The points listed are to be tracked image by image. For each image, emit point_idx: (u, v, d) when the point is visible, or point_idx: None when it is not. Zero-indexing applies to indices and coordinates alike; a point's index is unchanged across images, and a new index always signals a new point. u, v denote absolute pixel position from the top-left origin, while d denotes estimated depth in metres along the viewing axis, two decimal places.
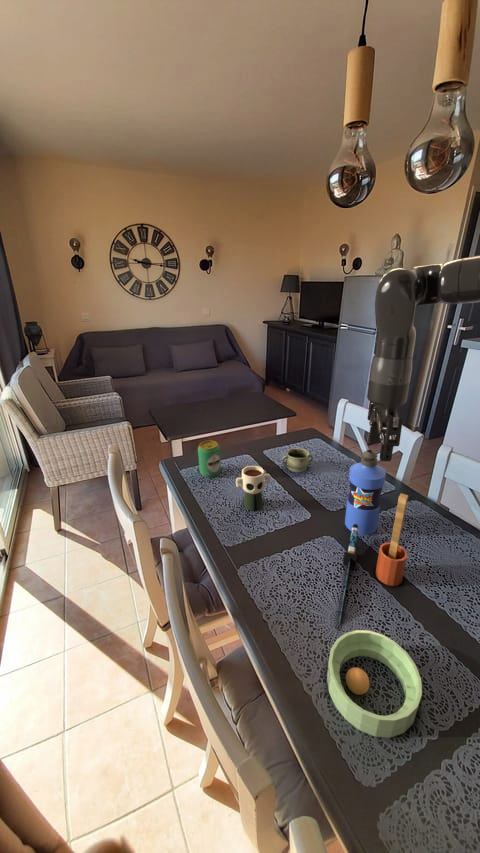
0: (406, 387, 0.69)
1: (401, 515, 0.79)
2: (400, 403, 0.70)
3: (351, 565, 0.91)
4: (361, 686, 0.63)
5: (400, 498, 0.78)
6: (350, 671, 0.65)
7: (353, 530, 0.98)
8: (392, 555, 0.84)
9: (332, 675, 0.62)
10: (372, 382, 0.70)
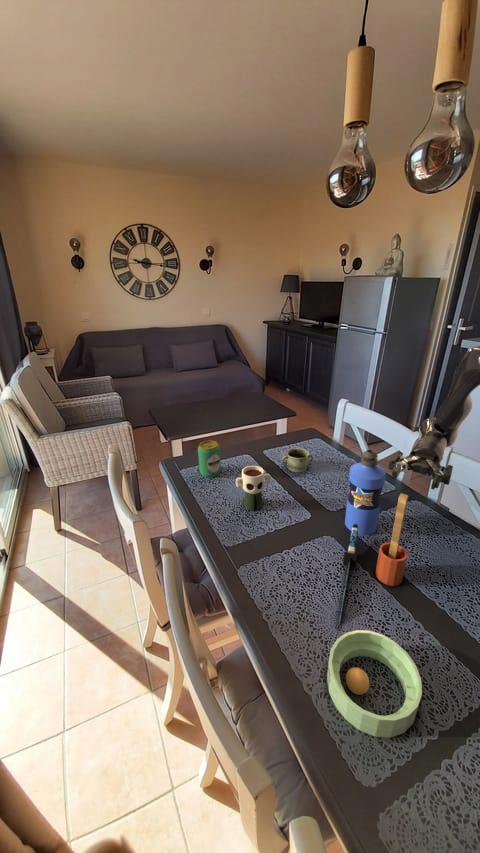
0: (416, 444, 0.99)
1: (401, 515, 0.79)
2: (411, 451, 0.97)
3: (351, 565, 0.91)
4: (361, 686, 0.63)
5: (400, 498, 0.78)
6: (350, 671, 0.65)
7: (353, 530, 0.98)
8: (392, 555, 0.84)
9: (332, 675, 0.62)
10: None
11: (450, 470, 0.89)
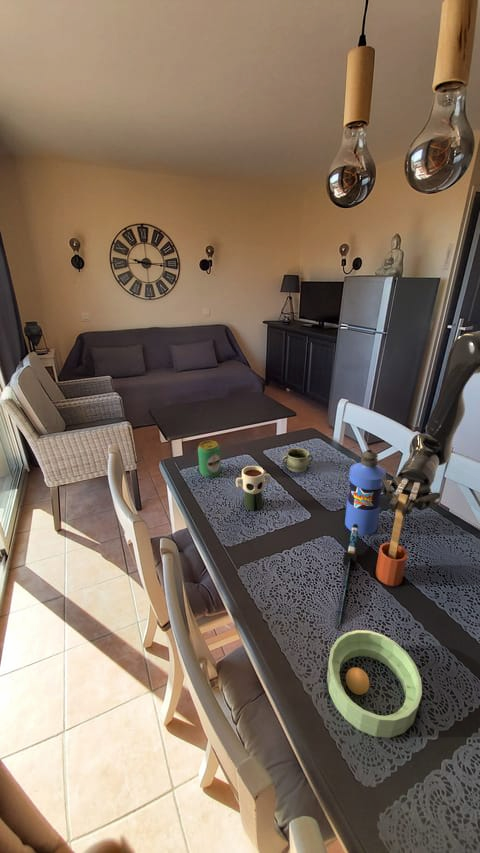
0: (405, 464, 0.89)
1: (401, 515, 0.79)
2: (399, 472, 0.88)
3: (351, 565, 0.91)
4: (361, 686, 0.63)
5: (400, 498, 0.78)
6: (350, 671, 0.65)
7: (353, 530, 0.98)
8: (392, 555, 0.84)
9: (332, 675, 0.62)
10: None
11: (431, 497, 0.79)
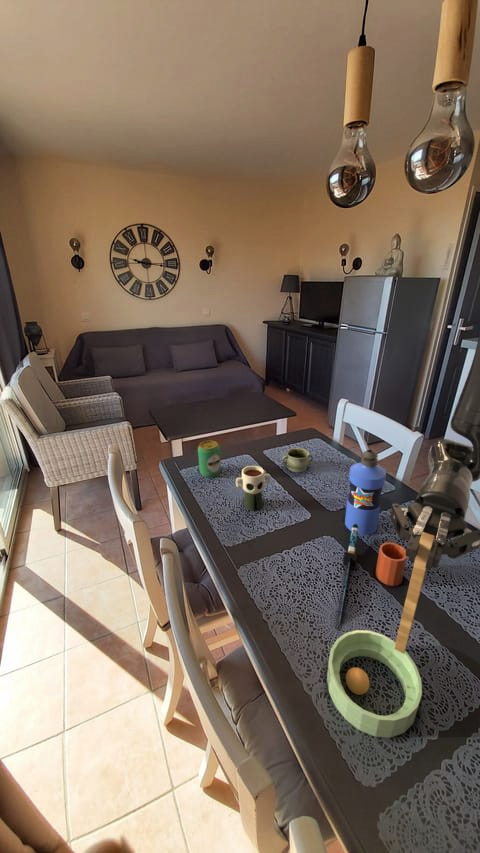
0: (426, 484, 0.62)
1: (423, 565, 0.52)
2: (418, 496, 0.61)
3: (351, 565, 0.91)
4: (361, 686, 0.63)
5: (422, 540, 0.51)
6: (350, 671, 0.65)
7: (353, 530, 0.98)
8: (407, 619, 0.57)
9: (332, 675, 0.62)
10: None
11: (469, 538, 0.52)
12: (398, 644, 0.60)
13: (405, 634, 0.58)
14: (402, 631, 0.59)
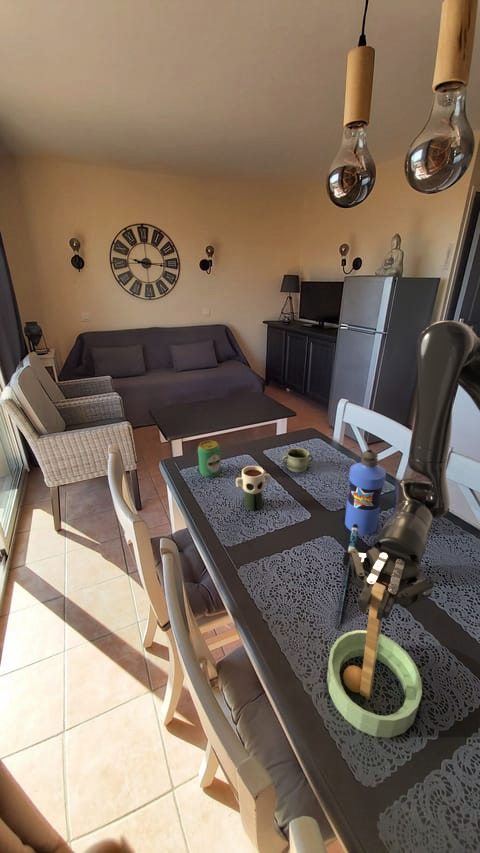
0: (385, 528, 0.64)
1: None
2: (376, 541, 0.62)
3: None
4: (356, 682, 0.63)
5: (374, 591, 0.53)
6: (346, 669, 0.65)
7: (353, 530, 0.98)
8: (368, 666, 0.58)
9: (332, 675, 0.62)
10: None
11: (420, 588, 0.53)
12: (363, 689, 0.61)
13: (368, 680, 0.59)
14: (365, 677, 0.60)
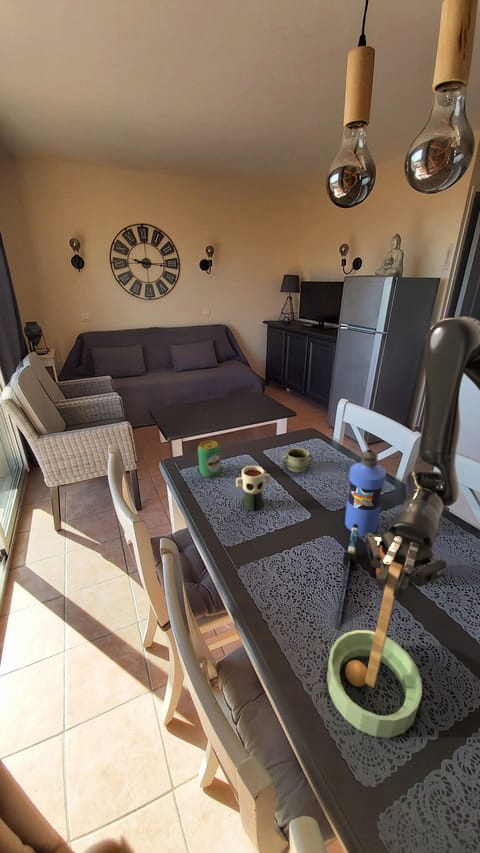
0: (399, 514, 0.67)
1: (392, 593, 0.57)
2: (391, 525, 0.66)
3: (351, 565, 0.91)
4: (360, 670, 0.64)
5: (391, 568, 0.56)
6: None
7: (353, 530, 0.98)
8: (377, 650, 0.60)
9: (332, 675, 0.62)
10: None
11: (433, 568, 0.57)
12: (368, 678, 0.62)
13: (375, 666, 0.61)
14: (372, 664, 0.61)
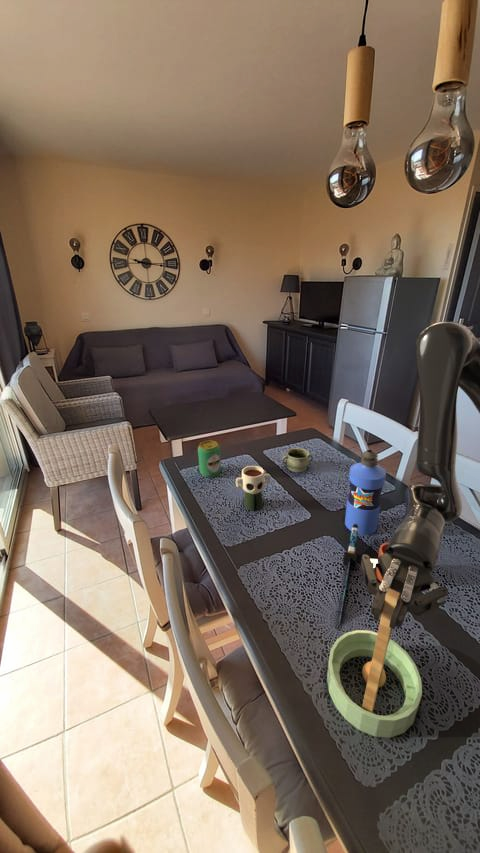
0: (397, 533, 0.63)
1: (388, 623, 0.53)
2: (388, 546, 0.61)
3: (351, 565, 0.91)
4: None
5: (388, 597, 0.52)
6: None
7: (353, 530, 0.98)
8: (373, 681, 0.56)
9: (332, 675, 0.62)
10: None
11: (433, 596, 0.52)
12: (364, 709, 0.58)
13: (371, 698, 0.57)
14: (368, 695, 0.57)
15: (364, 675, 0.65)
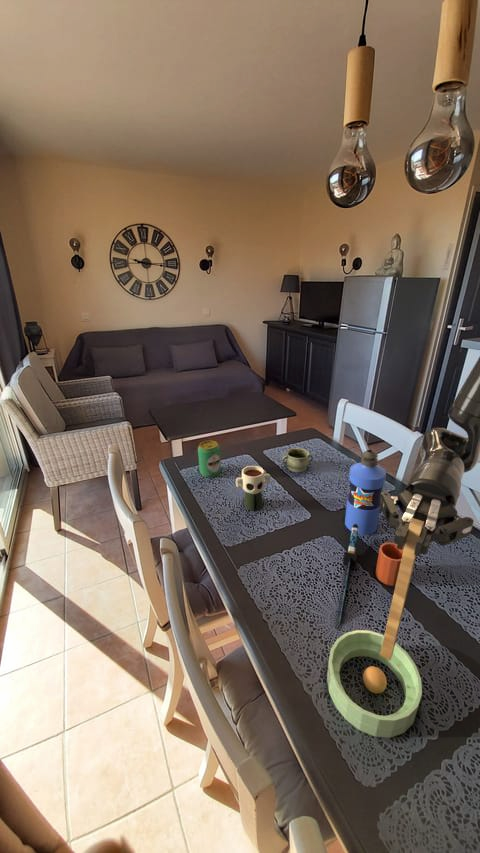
0: (417, 472, 0.61)
1: (412, 553, 0.51)
2: (408, 484, 0.59)
3: (351, 565, 0.91)
4: None
5: (412, 525, 0.50)
6: (377, 669, 0.64)
7: (353, 530, 0.98)
8: (394, 618, 0.54)
9: (332, 675, 0.62)
10: None
11: (459, 525, 0.51)
12: (384, 649, 0.56)
13: (392, 636, 0.55)
14: (388, 633, 0.55)
15: (366, 685, 0.64)
